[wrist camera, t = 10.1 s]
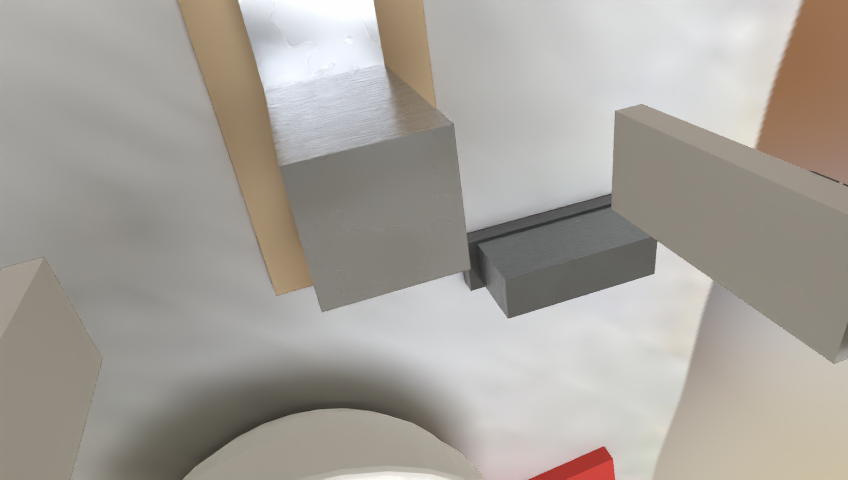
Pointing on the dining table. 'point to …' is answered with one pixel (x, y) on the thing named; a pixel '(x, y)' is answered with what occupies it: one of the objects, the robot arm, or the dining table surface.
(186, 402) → the dining table surface
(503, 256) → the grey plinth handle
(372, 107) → the bent metal sheet
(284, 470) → the bowl
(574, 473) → the bracket
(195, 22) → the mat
